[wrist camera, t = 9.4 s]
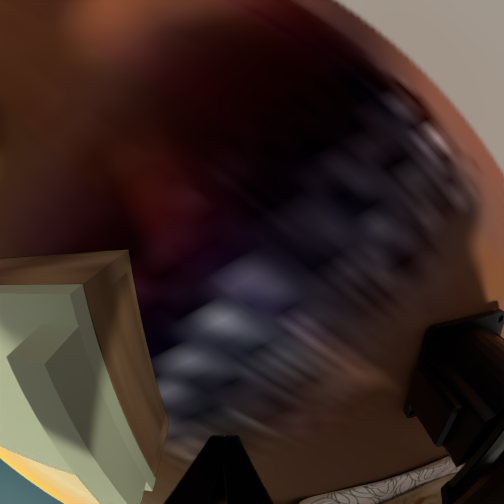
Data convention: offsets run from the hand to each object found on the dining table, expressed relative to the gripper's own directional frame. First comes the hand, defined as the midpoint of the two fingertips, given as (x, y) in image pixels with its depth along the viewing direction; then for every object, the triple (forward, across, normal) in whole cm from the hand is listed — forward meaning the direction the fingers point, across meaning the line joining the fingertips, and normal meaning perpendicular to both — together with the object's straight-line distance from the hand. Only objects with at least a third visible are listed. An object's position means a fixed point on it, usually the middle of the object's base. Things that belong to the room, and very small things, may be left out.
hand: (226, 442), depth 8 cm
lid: (+1, +9, 0) cm, 10 cm away
